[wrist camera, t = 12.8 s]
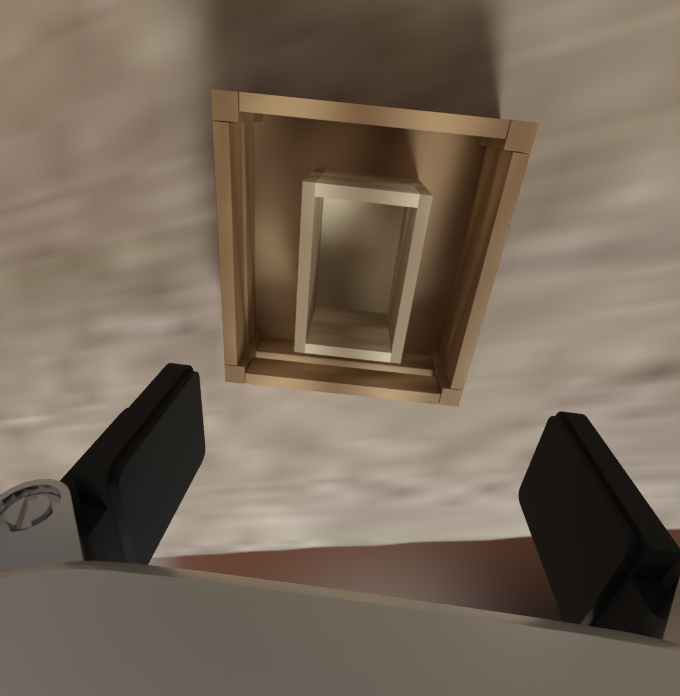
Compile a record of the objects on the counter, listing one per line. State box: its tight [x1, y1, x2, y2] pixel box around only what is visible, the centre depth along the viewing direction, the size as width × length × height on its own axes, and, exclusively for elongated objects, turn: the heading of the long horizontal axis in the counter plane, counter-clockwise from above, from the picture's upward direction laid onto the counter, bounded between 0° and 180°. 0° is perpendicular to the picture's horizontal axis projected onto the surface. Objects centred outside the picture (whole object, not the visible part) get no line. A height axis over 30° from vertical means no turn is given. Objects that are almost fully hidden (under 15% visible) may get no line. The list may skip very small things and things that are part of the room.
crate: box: [211, 89, 538, 406], centre depth 25 cm, size 14×16×6 cm
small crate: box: [294, 168, 433, 364], centre depth 24 cm, size 6×9×6 cm, turn 174°
